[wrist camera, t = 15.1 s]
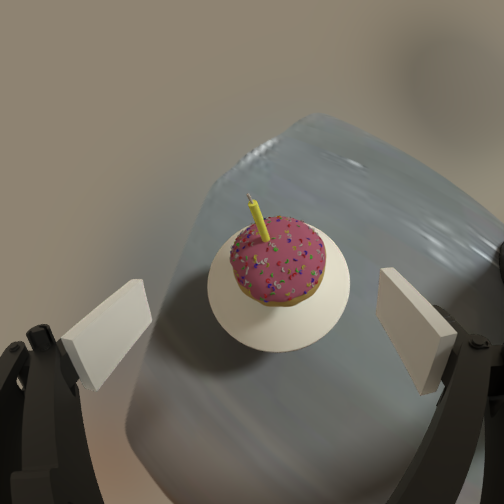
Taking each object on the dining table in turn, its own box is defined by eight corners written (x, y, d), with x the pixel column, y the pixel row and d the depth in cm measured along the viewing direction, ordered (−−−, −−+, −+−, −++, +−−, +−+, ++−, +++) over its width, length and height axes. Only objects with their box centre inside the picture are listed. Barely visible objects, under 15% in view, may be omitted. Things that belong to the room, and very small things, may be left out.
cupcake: (223, 291, 28) (184, 227, 18) (267, 230, 31) (254, 149, 20) (295, 334, 25) (299, 291, 14) (335, 264, 28) (358, 188, 17)
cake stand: (290, 233, 40) (289, 198, 33) (360, 310, 33) (377, 288, 26) (203, 292, 37) (183, 267, 30) (267, 383, 30) (261, 382, 23)
